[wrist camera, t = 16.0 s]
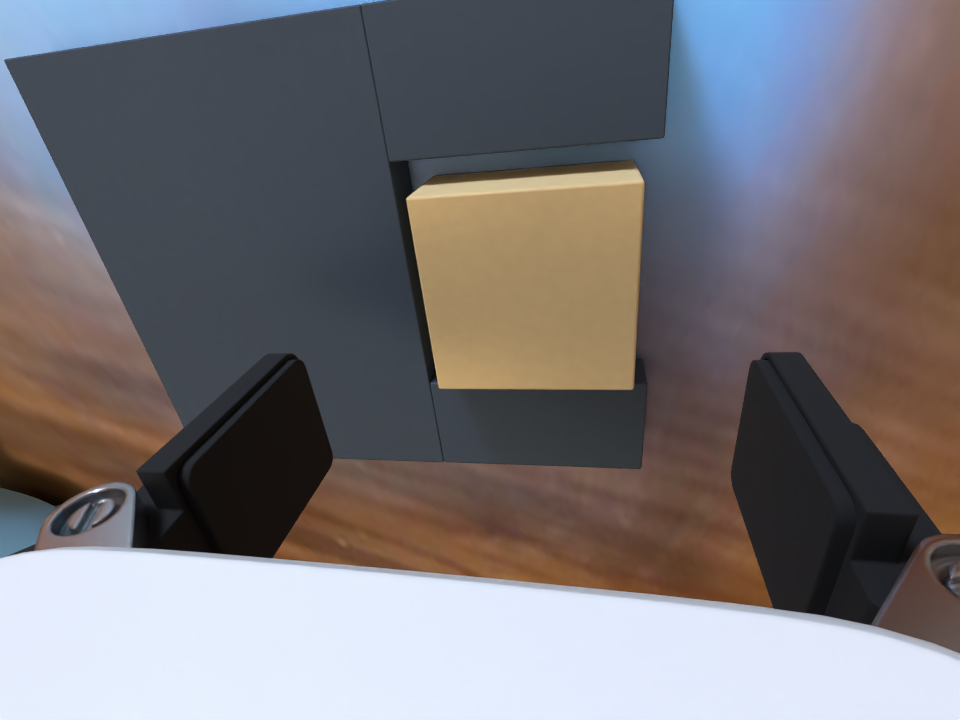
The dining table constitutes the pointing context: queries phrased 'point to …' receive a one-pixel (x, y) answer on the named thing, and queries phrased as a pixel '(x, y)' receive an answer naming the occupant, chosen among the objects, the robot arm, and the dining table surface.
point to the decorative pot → (20, 520)
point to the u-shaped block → (340, 199)
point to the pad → (532, 275)
